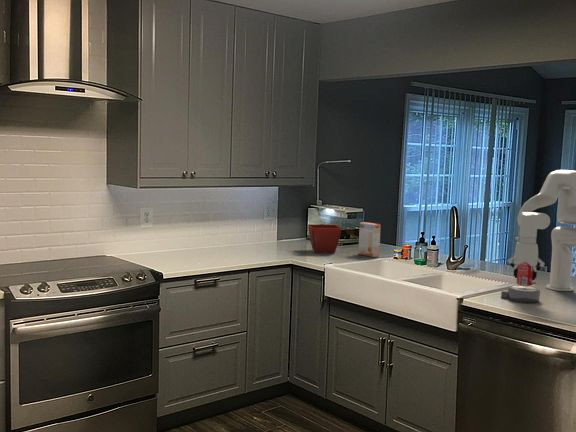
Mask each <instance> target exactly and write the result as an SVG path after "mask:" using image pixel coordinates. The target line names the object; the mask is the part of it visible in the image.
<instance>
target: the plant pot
mask: <svg viewBox="0 0 576 432" xmlns="http://www.w3.org/2000/svg"><path fill="white" fill-rule="evenodd" d="M307 227H308V236H309V239H310V240H309V241H310V245H311V248H312V251H313V252H314V253H317V254H318V253H319V254H321V253H324V254H335V253H336V250H337V247H338V244H339V240H340V237H341V234H342V233H341V232H342V227H341V226H339V225H337V224H308V226H307Z"/></svg>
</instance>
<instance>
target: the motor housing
mask: <svg viewBox="0 0 576 432" xmlns="http://www.w3.org/2000/svg"><path fill="white" fill-rule="evenodd" d="M540 296H541V290H540V289H538V288H535V287H532V286H529V287H525V286H519V285H511V286H508V287H507V290H504V289H503V290H501V296H500V298H501V299H507V300H509V301H510V302H514V303H519V304H528V305H529V304H531V305H533V304H534V305H535V304H539V303H540Z"/></svg>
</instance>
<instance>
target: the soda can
mask: <svg viewBox="0 0 576 432" xmlns="http://www.w3.org/2000/svg"><path fill="white" fill-rule="evenodd" d="M533 271H534V269H533V266H530V265H529V264H528V263H527V262H522V263H521V264H520V265H518V266H517V278H516V284H517V286H525V287H532V285H533V283H534V280H532V278H533Z"/></svg>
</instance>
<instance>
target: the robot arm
mask: <svg viewBox="0 0 576 432" xmlns="http://www.w3.org/2000/svg"><path fill="white" fill-rule="evenodd" d="M540 188H541V189H540V191H539V193H538V194H535V195H534V196H532V197H531V198H529V199H528V200H526V201H525V202H524V203H523V205H522V206H521V208H520V210H519V212H518V215H517V218H516V222H517V225H518V226H519V232H518V236H516V237H515V241H517V242H516V244H515V247H514V248H515V250H514V255H513V256H511V257H510V258H508V259H507V263H508V264H509V265H510V267H512V269H513V277H514V279H517V266H518V265H520V264H521V263H522V262H527V263H528V264H529V265H530V266H533V269H534V271H533V278H532V280H533V281H535V280H536V279H537V273H538V271H539V270H541V269H542V268H543V267H544V266H545V265H546V264H545V262H544V261H543V260H542V259H541V258H540V257H539V245H538V243H537V237H538V236H537V235H538V230H545V229H547V228H548V227H550V224H551V218H550V216H549V215H548V214H546V213H544V212H537V211H536V210H537V209H541V208H544V207H549V206H552V205H554V204H555V203H556V202H557V211H556V221H557V222H558V223H559V224H563V225H571V226H576V170H570V169H556V170H554V171H551V172H549V174H548V175H547V176H546V179H545V181H544V182H543V184H542V187H540ZM535 211H536V212H535ZM550 238H551V261H550V275H549V283H548V284H546V285H545V287H546V288H547V289H548V290H552V291H558V292H572V291H574V287H573V286H571V278H572V266H573V264H572V263H573V253H572V251H571V248H576V227H569V226H556V227H554V228H553V229H551V233H550ZM538 264H539V266H537V265H538Z"/></svg>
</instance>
